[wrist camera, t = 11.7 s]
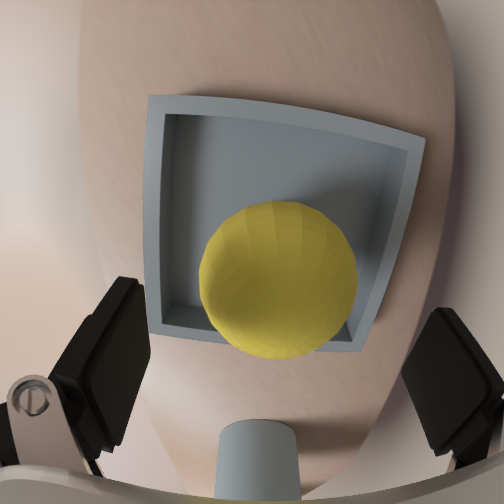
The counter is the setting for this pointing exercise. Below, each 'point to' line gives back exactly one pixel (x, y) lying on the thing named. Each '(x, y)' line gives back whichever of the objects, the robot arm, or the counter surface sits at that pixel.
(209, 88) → the counter surface
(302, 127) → the tray
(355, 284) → the light bulb
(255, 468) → the spray bottle
